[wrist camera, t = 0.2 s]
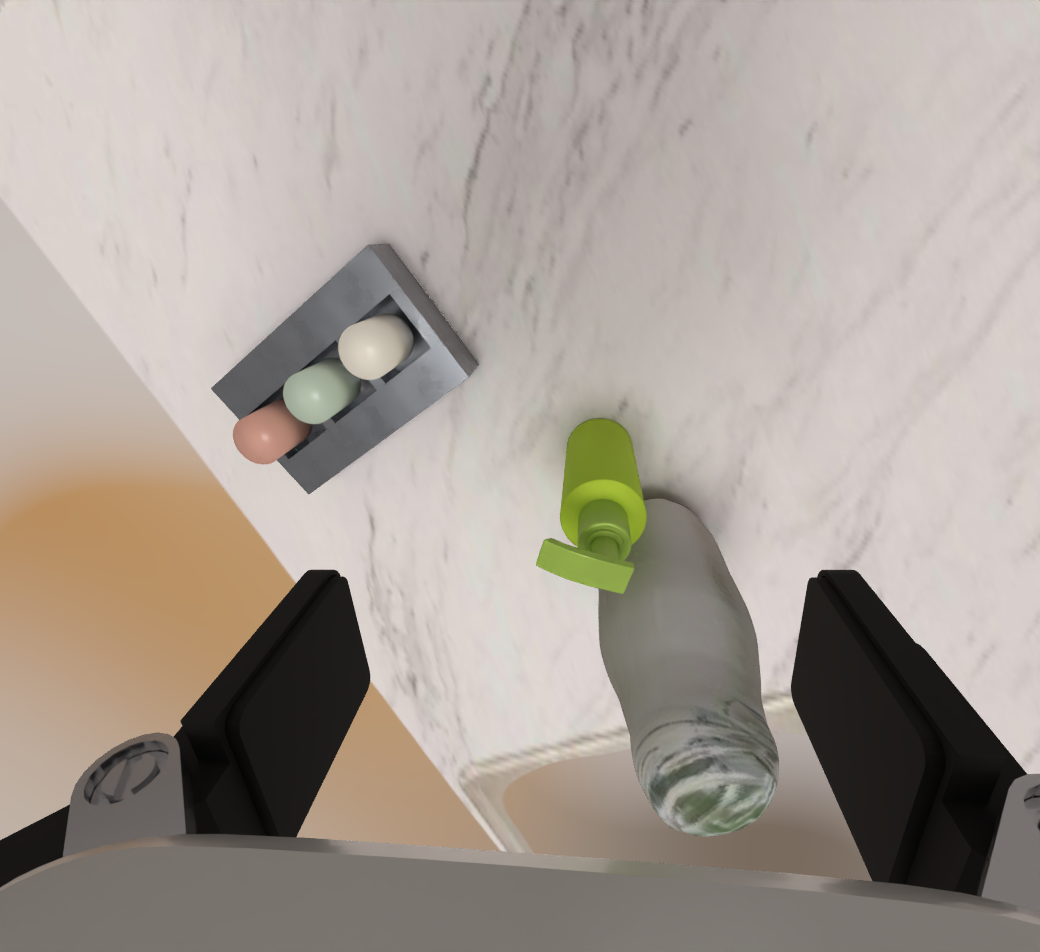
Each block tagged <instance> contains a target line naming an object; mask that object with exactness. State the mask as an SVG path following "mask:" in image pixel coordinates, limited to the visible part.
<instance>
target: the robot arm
mask: <svg viewBox="0 0 1040 952" xmlns="http://www.w3.org/2000/svg"><path fill="white" fill-rule="evenodd" d="M369 684H370V670H369V666H368V662H367V658H366V654H365V650H364V646H363V642H362V638H361V634H360V630H359V626H358V621H357V617H356V613H355V609H354V605H353V601H352V597H351V593H350V589H349V585H348V581H347V579H346V578H345V577H340V574H339V573H338V571H336V570H308V571H307V572H306V573H305V574H304V575H303V576H302V577H301V579H300V580H299V581H298V582H297V583H296V584H295V586H294V587H293V588H292V589H291V591H290V592H289V593H288V594H287V595H286V596H285V598H284V599H283V600H282V601H281V602H280V603H279V605H278V606H277V607H276V608H275V609H274V611H273V612H272V613H271V614H270V615H269V617H268V618H267V619H266V620H265V621H264V622H263V624H262V625H261V626H260V627H259V628H258V629H257V631H256V632H255V633H254V634H253V635H252V637H251V638H250V639H249V640H248V641H247V643H246V644H245V645H244V646H243V647H242V649H241V650H240V651H239V652H238V653H237V654H236V656H235V657H234V658H233V659H232V660H231V662H230V663H229V664H228V665H227V666H226V667H225V669H224V670H223V671H222V672H221V673H220V675H219V676H218V677H217V678H216V679H215V680H214V682H213V683H212V684H211V685H210V686H209V688H208V689H207V690H206V691H205V692H204V693H203V695H202V696H201V697H200V698H199V699H198V701H197V702H196V703H195V704H194V706H192V708H191V709H190V710H189V711H188V712H187V714H186V715H185V716H184V717H183V718H182V720H181V723H182V725H183V726H182V727H181V728H180V730H179V731H178V732H177V733H176V735H175V736H174V737H172V736H171V735H169V734H163V733H152V734H145V735H142V736H139V737H136V738H133V739H130V740H128V741H126V742H124V743H122V744H120V745H118V746H116V747H114V748H113V749H111V750H110V751H108V752H107V753H105V754H104V755H103V756H102V757H100V758H98V759H97V760H96V761H95V762H94V763H93V764H92V765H91V766H90V767H89V768H88V769H87V770H86V771H85V772H84V773H83V775H82V776H81V777H80V779H79V780H78V782H77V783H76V785H75V788H74V790H73V793H72V796H71V802H70V805H68V806H66V807H64V808H62V809H60V810H58V811H57V812H55V813H53V814H51V815H49V816H47V817H45V818H43V819H41V820H39V821H37V822H35V823H33V824H31V825H29V826H27V827H25V828H23V829H21V830H19V831H18V832H16V833H14V834H12V835H10V836H8V837H6V838H4V839H2V840H0V952H1040V774H1027V773H1026V772H1025V771H1024V770H1023V768H1022V767H1021V766H1020V765H1019V764H1018V762H1017V761H1016V760H1015V759H1014V757H1013V756H1012V755H1011V754H1010V753H1009V751H1008V750H1007V749H1006V748H1005V746H1004V745H1003V744H1002V743H1001V742H1000V740H999V739H998V738H997V737H996V735H995V734H994V733H993V732H992V731H991V729H990V728H989V727H988V726H987V725H986V723H985V722H984V721H983V720H982V718H981V717H980V716H979V715H978V714H977V712H976V711H975V710H974V709H973V707H972V706H971V705H970V704H969V703H968V701H967V700H966V699H965V698H964V696H963V695H962V694H961V693H960V692H959V690H958V689H957V688H956V687H955V685H954V684H953V683H952V682H951V681H950V679H949V678H948V677H947V676H946V675H945V673H944V672H943V671H942V670H941V668H940V667H939V666H938V665H937V664H936V662H935V661H934V660H933V659H932V657H931V656H930V655H929V654H928V653H927V651H926V650H925V649H924V648H922V647H921V646H920V645H919V644H917V643H915V642H914V640H913V639H912V638H911V637H910V635H909V634H908V633H907V632H906V631H905V629H904V628H903V627H902V626H901V624H900V623H899V622H898V621H897V619H896V618H895V617H894V616H893V614H892V613H891V612H890V611H889V610H888V608H887V607H886V606H885V605H884V603H883V602H882V601H881V600H880V598H879V597H878V596H877V595H876V594H875V592H874V591H873V590H872V589H871V587H870V586H869V585H868V584H867V582H866V581H865V580H864V579H863V577H862V576H861V575H860V574H859V573H858V572H857V571H855V570H822V571H820V572H819V574H818V577H817V578H810V579H809V581H808V585H807V591H806V597H805V603H804V609H803V615H802V621H801V627H800V633H799V639H798V645H797V651H796V657H795V664H794V670H793V676H792V682H791V693H792V698H793V702H794V705H795V707H796V709H797V712H798V714H799V716H800V718H801V721H802V723H803V725H804V727H805V730H806V732H807V734H808V736H809V739H810V741H811V743H812V745H813V748H814V750H815V752H816V755H817V757H818V759H819V761H820V764H821V765H822V768H823V770H824V773H825V775H826V777H827V779H828V781H829V784H830V786H831V788H832V790H833V793H834V795H835V797H836V800H837V802H838V804H839V806H840V809H841V811H842V813H843V815H844V817H845V820H846V822H847V824H848V827H849V829H850V831H851V834H852V836H853V838H854V840H855V842H856V845H857V847H858V849H859V852H860V854H861V856H862V858H863V861H864V862H865V865H866V867H867V869H868V872H869V874H870V876H871V879H872V881H863V880H853V879H842V878H832V877H822V876H811V875H800V874H790V873H778V872H765V871H752V870H740V869H728V868H715V867H702V866H690V865H677V864H664V863H651V862H638V861H626V860H613V859H599V858H586V857H571V856H558V855H544V854H532V853H518V852H504V851H489V850H476V849H462V848H448V847H433V846H418V845H404V844H389V843H374V842H359V841H343V840H328V839H314V838H297V837H296V836H297V834H298V832H299V830H300V828H301V826H302V824H303V822H304V820H305V818H306V816H307V814H308V812H309V809H310V807H311V806H312V803H313V801H314V799H315V797H316V795H317V793H318V791H319V789H320V787H321V785H322V783H323V780H324V779H325V777H326V775H327V773H328V771H329V769H330V767H331V764H332V762H333V760H334V758H335V756H336V754H337V752H338V750H339V748H340V746H341V744H342V742H343V740H344V738H345V736H346V734H347V732H348V729H349V728H350V725H351V723H352V721H353V719H354V717H355V715H356V713H357V711H358V709H359V707H360V705H361V703H362V701H363V699H364V697H365V695H366V693H367V690H368V687H369Z"/></svg>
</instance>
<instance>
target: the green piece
mask: <svg viewBox="0 0 1040 952" xmlns="http://www.w3.org/2000/svg"><path fill="white" fill-rule="evenodd" d="M360 388H361V383H360V378H359V377H356V376H355V375H353V374H352V373H350V372H349V371H348V370H347V369H346V367H345V366H344V365H343V363H342V361H341V359H339V358H328V359H325V360H323V361H321V362H319V363H317V364H315V365H312V366H310V367H308V368H306V369H304V370H302V371H300V372H298V373H296V374H294V375H292V376H291V377H289V378H288V380H287V381H286V383H285V385H284V389H283V398H284V401H285V404H286V406H287V408H288V410H289V411H290V412H291V413H292V414H293V415H294V416H295V417H296V418H297V419H299V420H301V421H303V422H305V423H309V424H320V423H323V422H325V421H326V420H328V419H329V418H331V417H332V416H333V415H335V414H336V413H338V412H339V411H340V410H342V409H343V408H345V407H346V406H347V405H349V404H350V403H352V402H353V401H354V400H355V399H356V398H357V397H358V395H359V393H360Z"/></svg>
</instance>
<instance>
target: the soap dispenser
mask: <svg viewBox="0 0 1040 952" xmlns="http://www.w3.org/2000/svg"><path fill="white" fill-rule="evenodd" d="M646 519H647V515H646V508H645V503H644V498H643V494H642V489H641V484H640V479H639V475H638V470H637V465H636V460H635V456H634V451H633V446H632V442H631V438H630V436H629V434H628V433H627V431H626V430H625V429H624V428H623V427H622V426H621V425H620V424H618V423H616V422H614V421H612V420H608V419H592V420H588V421H586V422H584V423H582V424H580V425H579V426H578V427H577V428H576V429H575V430H574V431H573V432H572V434H571V435H570V437H569V440H568V443H567V451H566V461H565V472H564V482H563V492H562V502H561V512H560V521H561V526H562V529H563V531H564V533H565V535H566V536H567V538H568V539H569V540H570V541H571V542H572V543H573V544H574V545H575V546H577V547H578V548H576V547H573V546H570V545H567V544H565V543H562V542H560V541H557V540H555V539H552V538H550V539H545V540H544V541H543V544H542V547H541V550H540V553H539V556H538V559H537V562H536V565H537V566H538V567H540V568H542V569H544V570H546V571H549V572H551V573H553V574H555V575H558V576H560V577H563V578H565V579H568V580H571V581H574V582H577V583H581V584H584V585H588V586H591V587H595V588H599V589H604V590H608V591H612V592H616V593H621V594H623V593H624V591H625V589H626V587H627V584H628V582H629V580H630V578H631V575H632V573H633V571H634V563H631V562H628V561H624V560H625V559H626V558H627V556H628V555H629V553H630V550H631V545H633V544H634V543H635V542H636V541H637V540H638V539H639V537H640V536H641V534H642V533H643V531H644V528H645V525H646Z"/></svg>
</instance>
